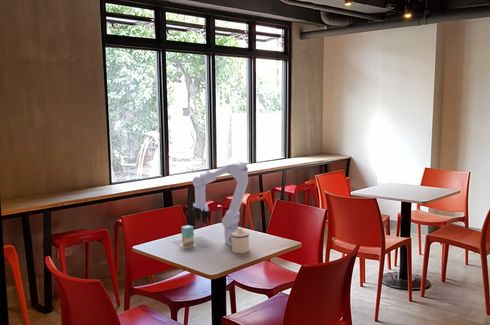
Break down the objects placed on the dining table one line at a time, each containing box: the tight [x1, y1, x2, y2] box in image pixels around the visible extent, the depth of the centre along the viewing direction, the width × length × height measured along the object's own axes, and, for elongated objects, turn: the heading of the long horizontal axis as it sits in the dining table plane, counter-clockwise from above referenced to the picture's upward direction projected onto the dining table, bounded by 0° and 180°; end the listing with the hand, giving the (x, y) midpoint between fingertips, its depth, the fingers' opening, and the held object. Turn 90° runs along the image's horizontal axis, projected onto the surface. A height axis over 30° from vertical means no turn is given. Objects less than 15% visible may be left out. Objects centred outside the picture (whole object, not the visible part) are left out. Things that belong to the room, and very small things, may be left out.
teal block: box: [181, 224, 195, 238], centre depth 244 cm, size 4×4×5 cm
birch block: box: [181, 235, 194, 247], centre depth 244 cm, size 4×4×5 cm
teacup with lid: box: [229, 227, 250, 254], centre depth 234 cm, size 12×9×12 cm
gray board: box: [171, 236, 218, 252], centre depth 247 cm, size 20×18×1 cm
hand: (201, 221), depth 256 cm, fingers open, 7 cm apart
